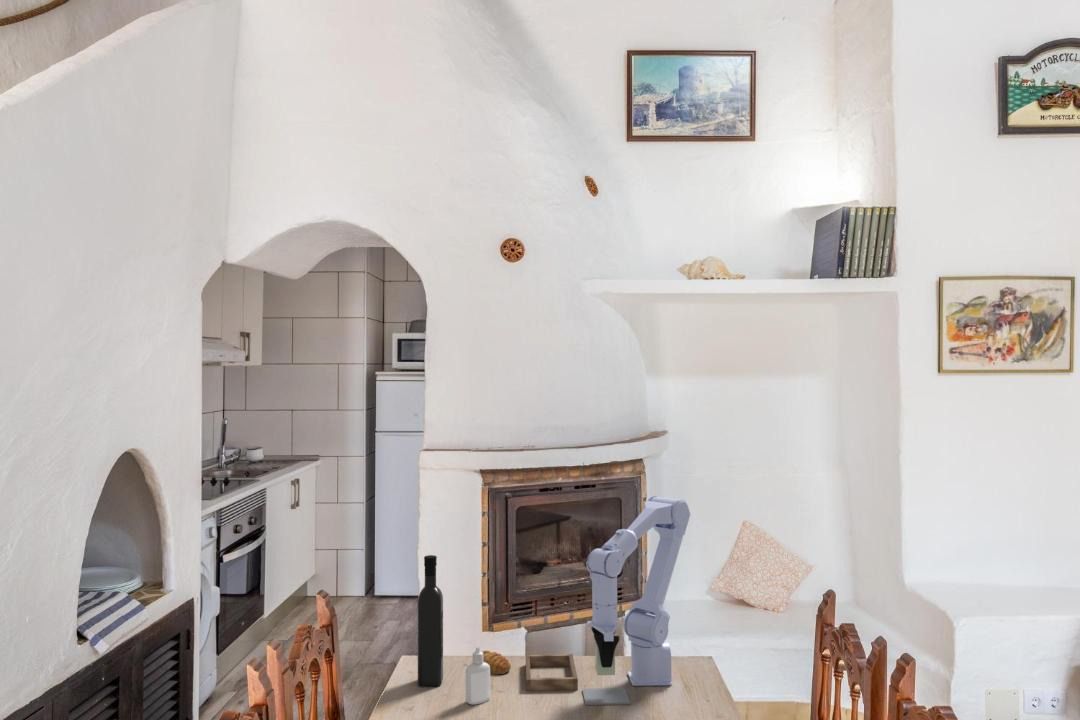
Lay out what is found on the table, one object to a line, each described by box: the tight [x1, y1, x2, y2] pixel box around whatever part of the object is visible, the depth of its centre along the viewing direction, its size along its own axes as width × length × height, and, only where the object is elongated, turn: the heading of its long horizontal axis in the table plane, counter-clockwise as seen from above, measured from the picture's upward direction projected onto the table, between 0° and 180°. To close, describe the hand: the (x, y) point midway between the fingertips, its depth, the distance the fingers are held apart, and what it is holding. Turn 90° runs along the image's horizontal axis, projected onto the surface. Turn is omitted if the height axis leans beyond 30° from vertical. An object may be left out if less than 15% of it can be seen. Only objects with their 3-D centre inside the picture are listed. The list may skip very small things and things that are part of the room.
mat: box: [581, 687, 631, 706], centre depth 166 cm, size 10×8×1 cm
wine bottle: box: [417, 554, 444, 687], centre depth 176 cm, size 6×6×30 cm
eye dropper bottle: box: [465, 646, 491, 706], centre depth 165 cm, size 4×6×12 cm
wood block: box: [594, 641, 616, 676], centre depth 166 cm, size 4×4×6 cm
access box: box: [525, 653, 579, 692], centre depth 178 cm, size 12×16×2 cm
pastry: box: [481, 650, 512, 675], centre depth 184 cm, size 9×7×4 cm
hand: (605, 663), depth 166 cm, fingers closed on wood block, 4 cm apart
